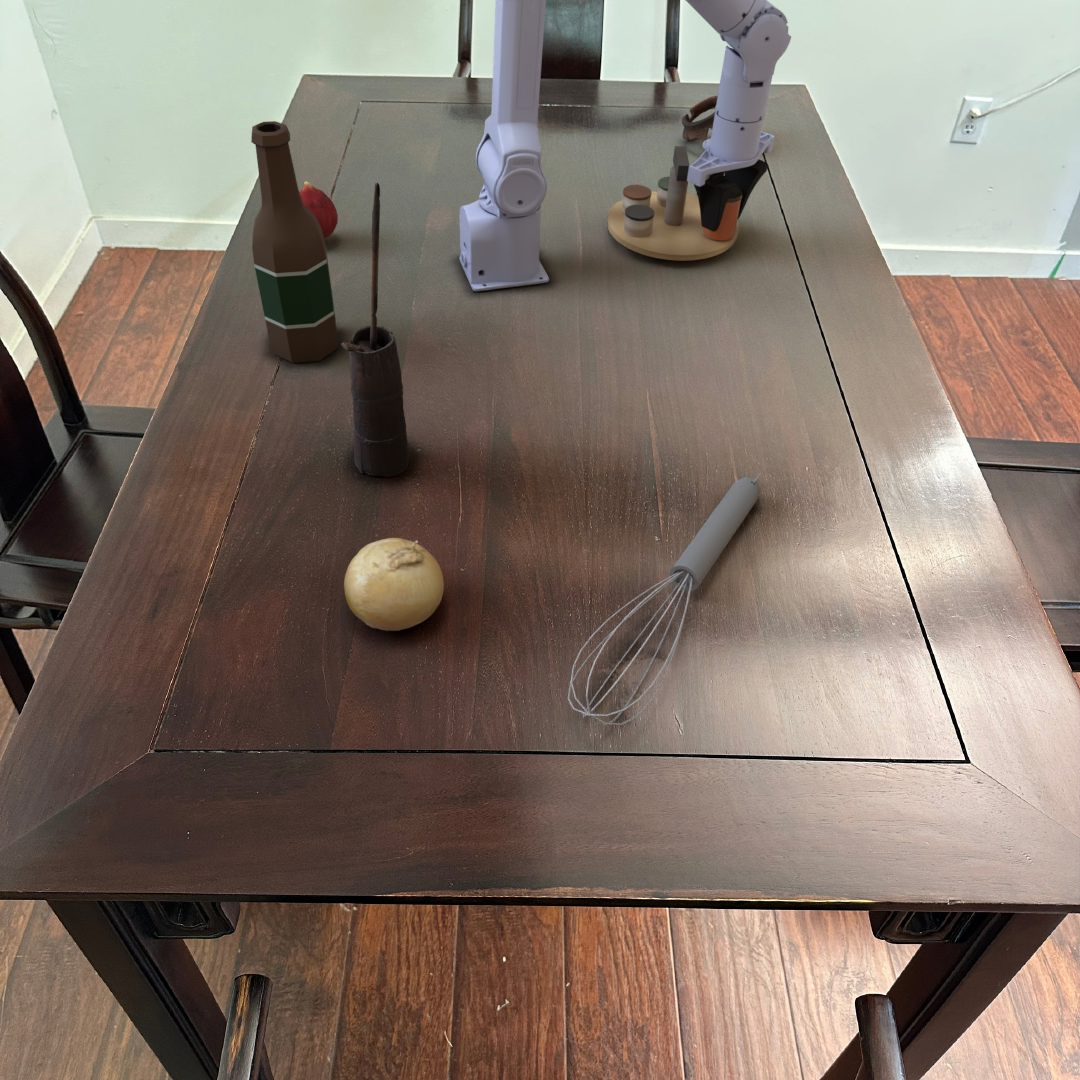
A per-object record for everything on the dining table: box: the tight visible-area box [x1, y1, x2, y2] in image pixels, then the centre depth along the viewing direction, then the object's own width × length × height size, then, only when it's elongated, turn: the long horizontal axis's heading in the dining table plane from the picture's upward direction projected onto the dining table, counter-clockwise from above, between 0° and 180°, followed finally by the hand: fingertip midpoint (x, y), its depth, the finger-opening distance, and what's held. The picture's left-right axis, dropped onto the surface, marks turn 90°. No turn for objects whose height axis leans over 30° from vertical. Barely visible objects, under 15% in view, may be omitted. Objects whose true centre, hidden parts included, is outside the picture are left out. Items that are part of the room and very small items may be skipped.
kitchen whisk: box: [567, 472, 761, 728], centre depth 80 cm, size 6×34×6 cm, turn 149°
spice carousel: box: [606, 145, 740, 262], centre depth 122 cm, size 17×17×10 cm
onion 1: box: [299, 180, 339, 241], centre depth 119 cm, size 6×6×8 cm
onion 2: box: [343, 537, 445, 632], centre depth 78 cm, size 8×8×7 cm
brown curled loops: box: [681, 95, 718, 143], centre depth 145 cm, size 12×10×8 cm
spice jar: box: [703, 186, 743, 240], centre depth 121 cm, size 4×4×6 cm
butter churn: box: [340, 182, 410, 478], centre depth 83 cm, size 9×10×28 cm
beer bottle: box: [251, 120, 339, 364], centre depth 98 cm, size 8×8×24 cm
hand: (720, 222), depth 122 cm, fingers closed on spice jar, 4 cm apart
